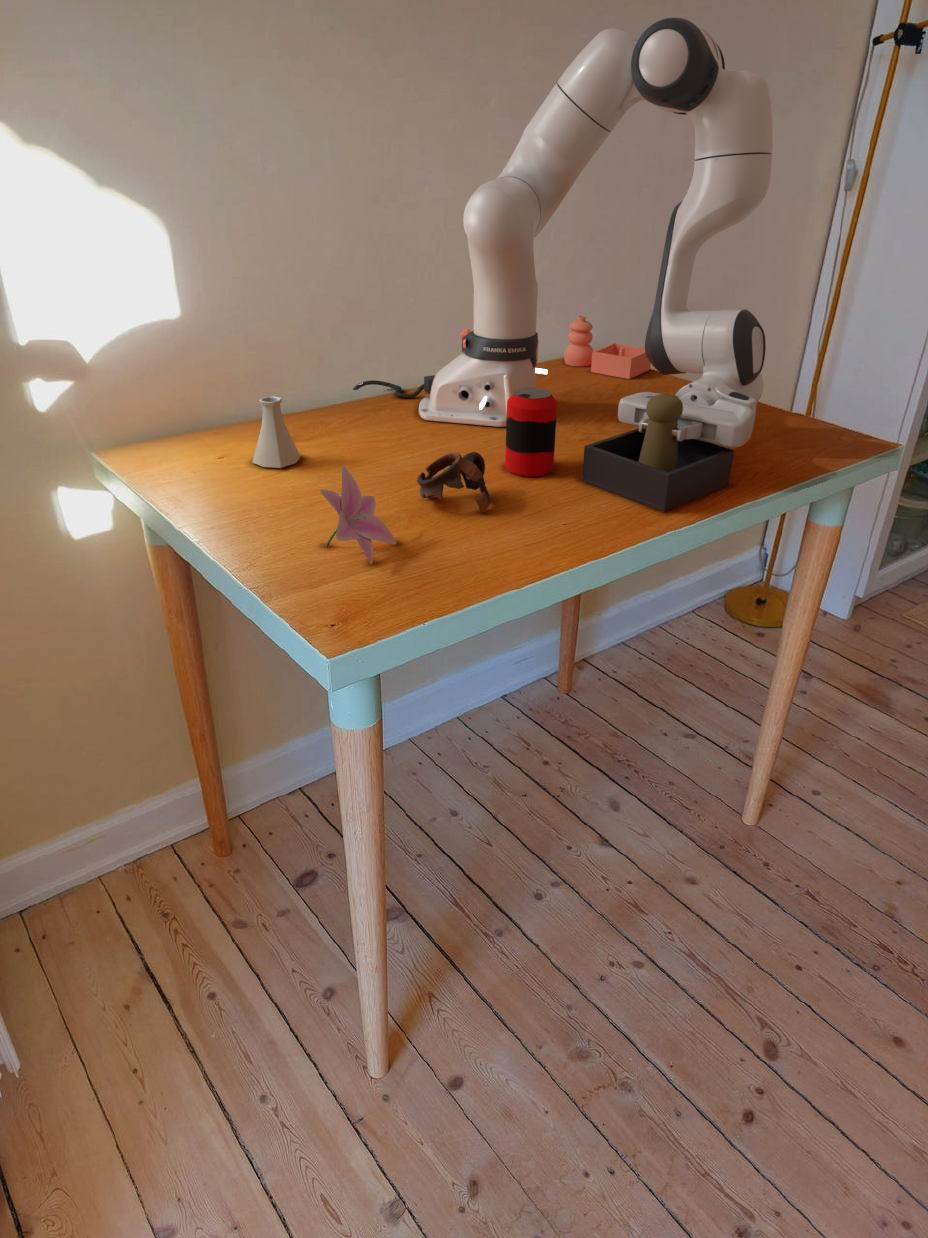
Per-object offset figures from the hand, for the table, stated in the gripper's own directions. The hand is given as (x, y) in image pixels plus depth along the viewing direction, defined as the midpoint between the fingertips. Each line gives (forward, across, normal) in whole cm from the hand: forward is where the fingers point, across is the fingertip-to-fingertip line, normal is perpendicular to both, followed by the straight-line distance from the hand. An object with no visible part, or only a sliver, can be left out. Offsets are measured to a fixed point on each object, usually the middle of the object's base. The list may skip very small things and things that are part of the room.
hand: (659, 431), depth 131 cm
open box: (-1, 0, +8) cm, 8 cm away
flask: (+29, -51, +8) cm, 59 cm away
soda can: (+6, -18, +8) cm, 21 cm away
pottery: (-53, -41, +9) cm, 68 cm away
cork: (-1, 0, +6) cm, 6 cm away
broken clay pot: (+24, -18, +8) cm, 31 cm away
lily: (+44, -19, +8) cm, 49 cm away
